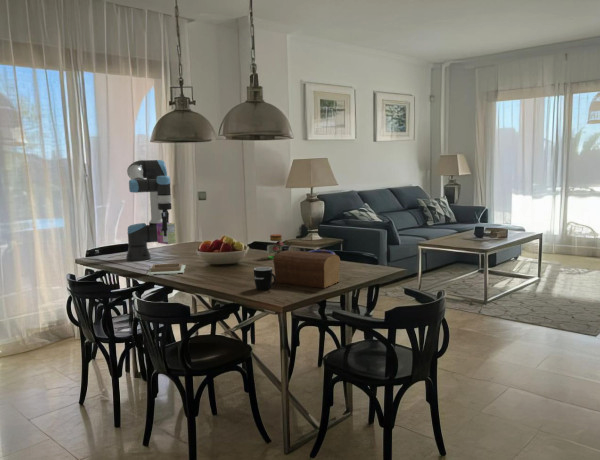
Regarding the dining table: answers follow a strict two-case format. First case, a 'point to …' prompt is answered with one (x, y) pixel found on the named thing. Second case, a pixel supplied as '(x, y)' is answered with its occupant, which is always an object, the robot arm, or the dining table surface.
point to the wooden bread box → (306, 268)
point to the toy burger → (275, 245)
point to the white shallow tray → (166, 269)
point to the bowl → (322, 251)
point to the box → (170, 233)
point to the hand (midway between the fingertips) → (166, 240)
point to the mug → (263, 278)
